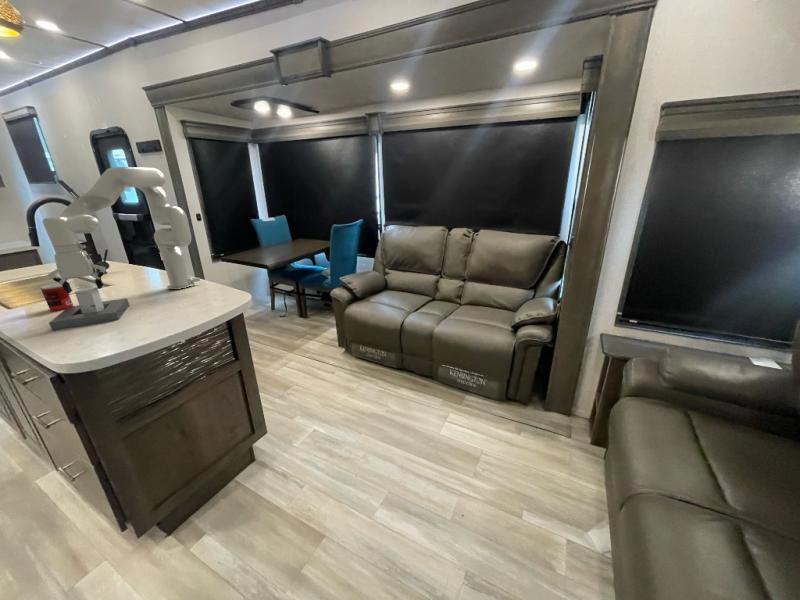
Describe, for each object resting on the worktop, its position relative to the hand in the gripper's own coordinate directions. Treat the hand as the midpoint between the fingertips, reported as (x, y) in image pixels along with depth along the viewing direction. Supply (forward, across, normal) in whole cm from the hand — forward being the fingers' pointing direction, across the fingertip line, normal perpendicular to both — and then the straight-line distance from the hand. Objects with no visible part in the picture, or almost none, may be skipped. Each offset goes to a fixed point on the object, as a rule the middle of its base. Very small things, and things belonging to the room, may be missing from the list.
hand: (85, 290), depth 130 cm
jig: (+12, 0, 0) cm, 12 cm away
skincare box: (+12, 0, 0) cm, 12 cm away
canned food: (+12, +17, -22) cm, 31 cm away
